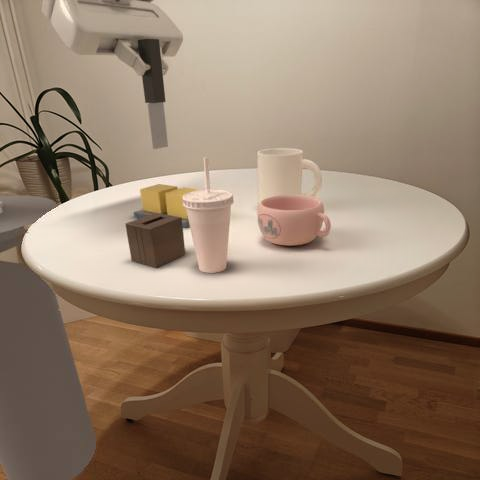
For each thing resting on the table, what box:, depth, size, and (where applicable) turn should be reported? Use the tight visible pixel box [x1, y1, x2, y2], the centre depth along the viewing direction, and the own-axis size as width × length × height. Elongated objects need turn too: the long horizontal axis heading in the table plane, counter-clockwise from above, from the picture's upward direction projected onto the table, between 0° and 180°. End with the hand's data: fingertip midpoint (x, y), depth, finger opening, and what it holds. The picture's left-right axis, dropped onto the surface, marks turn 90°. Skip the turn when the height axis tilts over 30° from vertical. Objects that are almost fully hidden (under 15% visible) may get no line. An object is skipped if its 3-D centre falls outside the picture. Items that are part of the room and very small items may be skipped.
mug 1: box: [256, 147, 323, 206], centre depth 79 cm, size 12×8×10 cm
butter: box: [139, 183, 200, 219], centre depth 77 cm, size 11×5×4 cm, turn 55°
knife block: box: [124, 213, 186, 269], centre depth 59 cm, size 5×6×6 cm
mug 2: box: [256, 195, 332, 247], centre depth 63 cm, size 12×10×6 cm
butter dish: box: [133, 208, 190, 229], centre depth 78 cm, size 13×8×1 cm, turn 55°
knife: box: [138, 39, 169, 150], centre depth 63 cm, size 2×3×14 cm
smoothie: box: [183, 156, 235, 274], centre depth 54 cm, size 6×6×14 cm
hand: (154, 72), depth 61 cm, fingers closed on knife, 2 cm apart
